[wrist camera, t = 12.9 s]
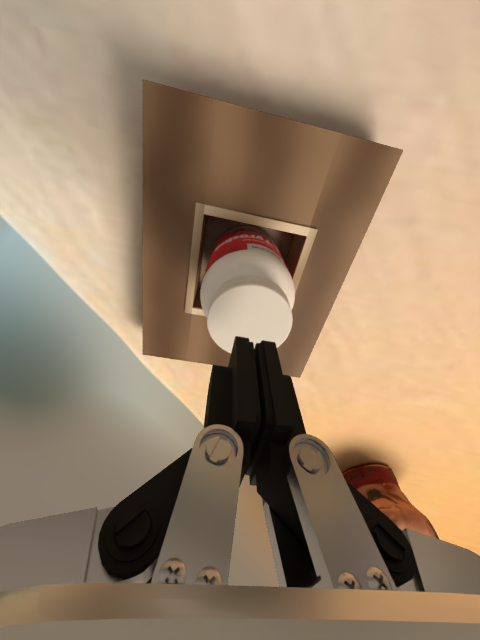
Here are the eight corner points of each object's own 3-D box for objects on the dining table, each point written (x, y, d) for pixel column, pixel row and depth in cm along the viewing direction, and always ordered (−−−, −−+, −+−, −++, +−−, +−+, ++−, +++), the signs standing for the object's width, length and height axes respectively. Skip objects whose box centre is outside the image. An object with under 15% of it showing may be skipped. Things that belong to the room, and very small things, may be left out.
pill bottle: (282, 225, 21) (317, 271, 12) (275, 290, 24) (298, 367, 15) (209, 223, 21) (187, 269, 12) (212, 289, 24) (196, 366, 15)
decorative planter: (412, 495, 47) (471, 605, 35) (350, 510, 50) (384, 616, 38) (390, 441, 38) (459, 566, 26) (315, 464, 41) (346, 584, 29)
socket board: (376, 152, 19) (405, 149, 15) (293, 355, 29) (300, 379, 26) (159, 95, 17) (141, 78, 14) (153, 333, 27) (142, 355, 24)
